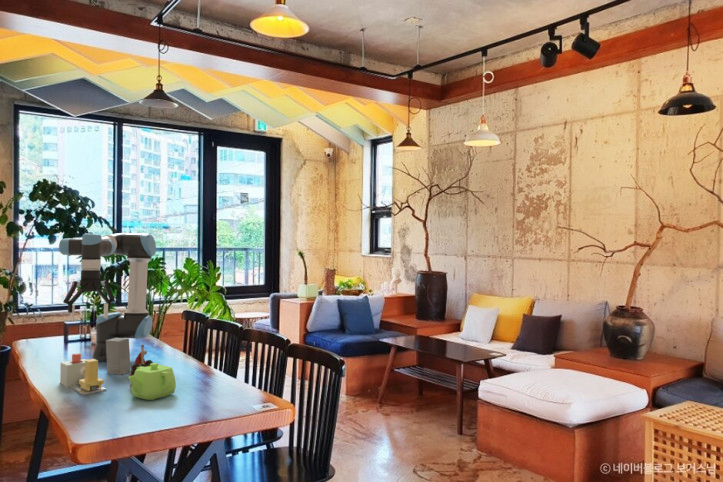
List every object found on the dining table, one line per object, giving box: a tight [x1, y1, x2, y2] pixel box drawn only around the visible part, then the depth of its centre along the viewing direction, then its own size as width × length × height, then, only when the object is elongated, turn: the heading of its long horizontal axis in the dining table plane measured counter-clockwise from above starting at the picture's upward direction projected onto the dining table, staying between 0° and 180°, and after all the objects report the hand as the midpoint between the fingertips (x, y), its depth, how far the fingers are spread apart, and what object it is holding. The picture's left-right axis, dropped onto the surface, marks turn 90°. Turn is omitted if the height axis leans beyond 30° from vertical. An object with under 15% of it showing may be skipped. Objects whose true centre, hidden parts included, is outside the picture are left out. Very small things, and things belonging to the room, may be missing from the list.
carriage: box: [79, 358, 104, 391], centre depth 224 cm, size 7×7×11 cm
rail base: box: [68, 379, 107, 396], centre depth 226 cm, size 9×15×3 cm, turn 47°
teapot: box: [127, 362, 177, 401], centre depth 216 cm, size 18×20×13 cm
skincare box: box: [106, 338, 131, 376], centre depth 253 cm, size 8×7×16 cm
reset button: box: [71, 353, 82, 364], centre depth 235 cm, size 3×3×5 cm
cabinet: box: [59, 358, 88, 388], centre depth 235 cm, size 10×8×9 cm
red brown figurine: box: [129, 344, 154, 389], centre depth 230 cm, size 11×9×18 cm
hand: (89, 319), depth 235 cm, fingers open, 13 cm apart
